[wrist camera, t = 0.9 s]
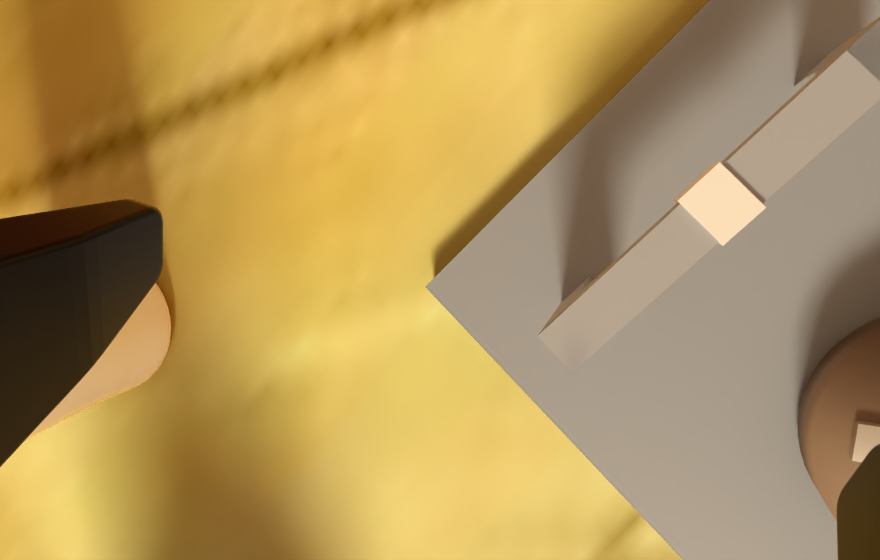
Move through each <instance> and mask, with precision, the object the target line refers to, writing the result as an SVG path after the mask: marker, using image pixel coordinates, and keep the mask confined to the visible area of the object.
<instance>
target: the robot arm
mask: <svg viewBox="0 0 880 560" xmlns="http://www.w3.org/2000/svg"><path fill="white" fill-rule="evenodd" d="M162 266H163V220H162V215H161V213H160V211H159V210H158V209H157V208H155V207H153V206H150V205H147V204H144V203H141V202H138V201H134V200H130V199H124V200H118V201H112V202H105V203H99V204H92V205H86V206H80V207H73V208H67V209H60V210H54V211H48V212H41V213H35V214H28V215H22V216H16V217H9V218H3V219H0V467H1V466H2V465H3V463H4V462H5V461H6V460H7V459H8V458H9V457H10V456H11V455H12V454H13V453H14V452H15V451H16V449H17V448H18V447H19V446H20V445H21V444H22V443H23V442H24V441H25V440H26V439H27V438H28V437H29V435H30V434H31V433H32V432H33V431H34V430H35V429H36V428H37V427H38V426H39V425H40V424H41V423H42V421H43V420H44V419H45V418H46V417H47V416H48V415H49V414H50V413H51V412H52V411H53V410H54V409H55V407H56V406H57V405H58V404H59V403H60V402H61V401H62V400H63V399H64V398H65V397H66V396H67V395H68V394H69V392H70V391H71V390H72V389H73V388H74V387H75V386H76V385H77V384H78V383H79V382H80V381H81V379H82V378H83V377H84V376H85V375H86V374H87V373H88V371H89V370H90V369H91V368H92V367H93V366H94V365H95V363H96V362H97V361H98V360H99V358H100V357H101V356H102V355H103V353H104V352H105V351H106V349H107V348H108V347H109V345H110V344H111V343H112V341H113V340H114V338H115V337H116V336H117V334H118V333H119V332H120V330H121V329H122V328H123V326H124V325H125V324H126V322H127V321H128V320H129V318H130V317H131V316H132V314H133V313H134V311H135V310H136V309H137V307H138V306H139V305H140V303H141V302H142V301H143V299H144V298H145V297H146V295H147V294H148V293H149V291H150V290H151V289H152V287H153V286H154V284H155V283H156V282H157V280H158V278H159V276H160V274H161V271H162ZM836 515H837V553H838V560H880V444H878V445H876V446H875V447H873V449H872V450H871V451H870V452H869V453H868V454H867V456H866V457H865V459H864V460H863V461H862V463H861V464H860V465H859V467H858V468H857V469H856V471H855V472H854V473H853V475H852V476H851V478H850V479H849V480H848V482H847V483H846V484H845V486H844V487H843V489H842V490H841V493H840V495H839V498H838V501H837V509H836Z"/></svg>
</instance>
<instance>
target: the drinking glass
mask: <svg viewBox="0 0 880 560" xmlns="http://www.w3.org/2000/svg"><path fill="white" fill-rule="evenodd" d="M170 338H171V319H170V313H169V308H168V305H167V302H166V300H165V297H164V295H163V293H162V291H161V290H160V288H159V286H158V285H157V283H155V284H154V286H153V287H152V289H151V290H150V291H149V293H148V294H147V295H146V297H145V298H144V299H143V301H142V302H141V303H140V305H139V306H138V307H137V309H136V310H135V311H134V313H133V314H132V316H131V317H130V318H129V320H128V321H127V322H126V324H125V325H124V326H123V328H122V329H121V330H120V332H119V333H118V334H117V336H116V337H115V338H114V340H113V341H112V343H111V344H110V345H109V347H108V348H107V349H106V351H105V352H104V353H103V355H102V356H101V357H100V358H99V360H98V361H97V362H96V363H95V365H94V366H93V367H92V368H91V369H90V370H89V371H88V373H87V374H86V375H85V376H84V377H83V378H82V379H81V381H80V382H79V383H78V384H77V385H76V386H75V387H74V388H73V389H72V390H71V391H70V392H69V394H68V395H67V396H66V397H65V398H64V399H63V400H62V401H61V402H60V403H59V404H58V405H57V406H56V407H55V409H54V410H53V411H52V412H51V413H50V414H49V415H48V416H47V417H46V418H45V419H44V420H43V421H42V423H41V424H40V425H39V426H38V427H37V428H36V429H35V430H34V431H33V432H32V433H31V434H30V435H29V437H28V438H27V439H26V440H28V439H30V438H32V437H34V436H36V435H37V434H39V433H41V432H43V431H45V430H47V429H49V428H51V427H53V426H55V425H57V424H59V423H61V422H63V421H64V420H66V419H68V418H70V417H72V416H74V415H76V414H78V413H80V412H82V411H84V410H86V409H88V408H90V407H92V406H94V405H96V404H98V403H100V402H102V401H104V400H106V399H108V398H110V397H113V396H116V395H118V394H121V393H123V392H126V391H128V390H131V389H133V388H135V387H137V386H139V385H141V384H142V383H144V382H145V381H147V380H148V379H149V378H150V377H151V376H152V375H153V374H154V373H155V372H156V371H157V370H158V368H159V367H160V365H161V364H162V362H163V360H164V359H165V356H166V354H167V351H168V348H169V344H170ZM26 440H25V441H26Z"/></svg>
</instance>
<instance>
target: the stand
mask: <svg viewBox="0 0 880 560" xmlns="http://www.w3.org/2000/svg"><path fill="white" fill-rule="evenodd" d="M426 288H427V289H428V290H429V291H430V292H431V293H432V294H433V295H434V297H435V298H436V299H437V300H438V301H439V302H440V303H441V304H442V305H443V306H444V307H445V308H446V309H447V310H448V311H449V312H450V313H451V315H452V316H453V317H454V318H455V319H456V320H457V321H458V322H459V323H460V324H461V325H462V326H463V327H464V328H465V329H466V330H467V331H468V333H469V334H470V335H471V336H472V337H473V338H474V339H475V340H476V341H477V342H478V343H479V344H480V345H481V346H482V347H483V348H484V349H485V351H486V352H487V353H488V354H489V355H490V356H491V357H492V358H493V359H494V360H495V361H496V362H497V363H498V364H499V365H500V366H501V367H502V369H503V370H504V371H505V372H506V373H507V374H508V375H509V376H510V377H511V378H512V379H513V380H514V381H515V382H516V383H517V384H518V385H519V387H520V388H521V389H522V390H523V391H524V392H525V393H526V394H527V395H528V396H529V397H530V398H531V399H532V400H533V401H534V402H535V403H536V405H537V406H538V407H539V408H540V409H541V410H542V411H543V412H544V413H545V414H546V415H547V416H548V417H549V418H550V419H551V420H552V422H553V423H554V424H555V425H556V426H557V427H558V428H559V429H560V430H561V431H562V432H563V433H564V434H565V435H566V436H567V437H568V438H569V440H570V441H571V442H572V443H573V444H574V445H575V446H576V447H577V448H578V449H579V450H580V451H581V452H582V453H583V454H584V455H585V456H586V458H587V459H588V460H589V461H590V462H591V463H592V464H593V465H594V466H595V467H596V468H597V469H598V470H599V471H600V472H601V473H602V474H603V476H604V477H605V478H606V479H607V480H608V481H609V482H610V483H611V484H612V485H613V486H614V487H615V488H616V489H617V490H618V491H619V492H620V494H621V495H622V496H623V497H624V498H625V499H626V500H627V501H628V502H629V503H630V504H631V505H632V506H633V507H634V508H635V509H636V510H637V512H638V513H639V514H640V515H641V516H642V517H643V518H644V519H645V520H646V521H647V522H648V523H649V524H650V525H651V526H652V527H653V528H654V530H655V531H656V532H657V533H658V534H659V535H660V536H661V537H662V538H663V539H664V540H665V541H666V542H667V543H668V544H669V545H670V546H671V548H672V549H673V550H674V551H675V552H676V553H677V554H678V555H679V556H680V557H681V558H682V559H683V560H838V553H837V521H836V519H835V518H834V516H833V515H832V513H831V512H830V510H829V509H828V507H827V505H826V504H825V502H824V500H823V499H822V497H821V495H820V493H819V492H818V490H817V488H816V487H815V485H814V483H813V481H812V480H811V478H810V476H809V473H808V471H807V469H806V467H805V465H804V461H803V458H802V455H801V452H800V447H799V440H798V414H799V406H800V402H801V399H802V395H803V392H804V389H805V387H806V385H807V383H808V380H809V378H810V376H811V375H812V373H813V371H814V370H815V368H816V367H817V365H818V364H819V362H820V361H821V360H822V359H823V358H824V356H825V355H826V354H827V353H828V352H829V350H830V349H832V348H833V347H834V346H835V345H836V344H837V343H838V342H839V341H840V340H842V339H843V338H844V337H846V336H847V335H849V334H850V333H851V332H853V331H854V330H856V329H857V328H859V327H861V326H863V325H865V324H867V323H869V322H871V321H873V320H875V319H878V318H880V0H709V1H708V2H707V3H706V4H705V5H704V6H703V7H702V8H701V9H700V10H699V11H698V12H697V13H696V14H695V16H694V17H693V18H692V19H691V20H690V21H689V22H688V23H687V24H686V25H685V26H684V27H683V28H682V29H681V30H680V31H679V32H678V33H677V34H676V35H675V36H674V37H673V38H672V39H671V40H670V41H669V42H668V43H667V44H666V45H665V46H664V47H663V48H662V49H661V50H660V51H659V52H658V53H657V54H656V55H655V56H654V57H653V58H652V59H651V60H650V61H649V62H648V63H647V64H646V65H645V66H644V67H643V68H642V69H641V70H640V71H639V72H638V73H637V74H636V75H635V76H634V77H633V78H632V79H631V80H630V81H629V82H628V83H627V84H626V85H625V86H624V87H623V88H622V89H621V90H620V91H619V92H618V93H617V94H616V95H615V96H614V97H613V98H612V99H611V100H610V101H609V102H608V103H607V104H606V105H605V106H604V107H603V108H602V109H601V110H600V111H599V112H598V113H597V114H596V115H595V116H594V117H593V118H592V119H591V120H590V121H589V122H588V123H587V124H586V125H585V126H584V127H583V128H582V129H581V130H580V131H579V132H578V133H577V134H576V136H575V137H574V138H573V139H572V140H571V141H570V142H569V143H568V144H567V145H566V146H565V147H564V148H563V149H562V150H561V151H560V152H559V153H558V154H557V155H556V156H555V157H554V158H553V159H552V160H551V161H550V162H549V163H548V164H547V165H546V166H545V167H544V168H543V169H542V170H541V171H540V172H539V173H538V174H537V175H536V176H535V177H534V178H533V179H532V180H531V181H530V182H529V183H528V184H527V185H526V186H525V187H524V188H523V189H522V190H521V191H520V192H519V193H518V194H517V195H516V196H515V197H514V198H513V199H512V200H511V201H510V202H509V203H508V204H507V205H506V206H505V207H504V208H503V209H502V210H501V211H500V212H499V213H498V214H497V215H496V216H495V217H494V218H493V219H492V220H491V221H490V222H489V223H488V224H487V225H486V226H485V227H484V228H483V229H482V230H481V231H480V232H479V233H478V234H477V235H476V236H475V237H474V238H473V239H472V240H471V241H470V242H469V243H468V244H467V245H466V246H465V247H464V248H463V249H462V250H461V251H460V252H459V253H458V254H457V256H456V257H455V258H454V259H453V260H452V261H451V262H450V263H449V264H448V265H447V266H446V267H445V268H444V269H443V270H442V271H441V272H440V273H439V274H438V275H437V276H436V277H435V278H434V279H433V280H432V281H431V282H430V283H429V284H428V285H427V286H426Z"/></svg>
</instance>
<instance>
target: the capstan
mask: <svg viewBox="0 0 880 560" xmlns="http://www.w3.org/2000/svg"><path fill="white" fill-rule="evenodd" d="M798 440H799V447H800V452H801V455H802V458H803V461H804V465H805V467H806V469H807V471H808V473H809V476H810V478H811V480H812V481H813V483H814V485H815V487H816V488H817V490H818V492H819V493H820V495H821V497H822V499H823V500H824V502H825V504H826V505H827V507H828V509H829V510H830V512H831V513H832V515H833V516H834V518H835V519H836V521H837V515H836V509H837V501H838V498H839V495H840V493H841V490H842V489H843V487H844V486H845V484H846V483H847V482H848V480H849V479H850V478H851V476H852V475H853V473H854V472H855V471H856V469H857V468H858V467H859V465H860V464H861V463H862V461H863V460H864V459H865V457H866V456H867V454H868V453H869V452H870V451H871V450H872V449H873V447H875V446H876V445H878V444H880V318H878V319H875V320H873V321H871V322H869V323H867V324H865V325H863V326H861V327H859V328H857V329H856V330H854V331H853V332H851V333H850V334H849V335H847V336H846V337H844V338H843V339H842V340H840V341H839V342H838V343H837V344H836V345H835V346H834V347H833V348H832V349H830V350H829V352H828V353H827V354H826V355H825V356H824V358H823V359H822V360H821V361H820V362H819V364H818V365H817V367H816V368H815V370H814V371H813V373H812V375H811V376H810V378H809V380H808V383H807V385H806V387H805V389H804V392H803V395H802V399H801V402H800V406H799V414H798Z"/></svg>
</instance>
